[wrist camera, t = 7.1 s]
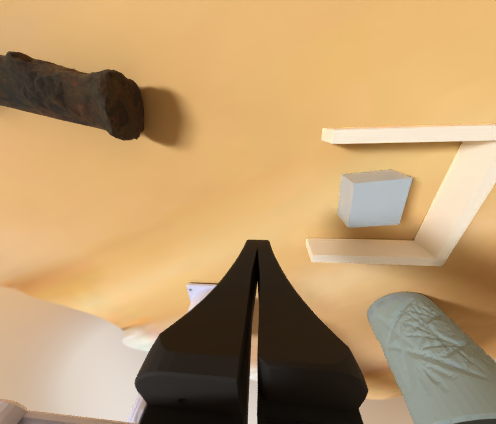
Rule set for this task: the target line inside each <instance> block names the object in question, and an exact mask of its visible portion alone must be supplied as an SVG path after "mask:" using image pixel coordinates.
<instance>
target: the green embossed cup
mask: <svg viewBox="0 0 496 424" xmlns="http://www.w3.org/2000/svg"><path fill="white" fill-rule="evenodd" d="M367 316H368V320H369V322H370V324H371V327H372V329H373V331H374V334H375V336H376V338H377V339H378V341H379V342H380V343H381V347H382V349H383V352H384V355H385V357H386V359H387V361H388V364H389V366H390V369H391V371H392V373H393V374H394V377H395V380H396V382H397V384H398V386H399V388H400V390H401V392H402V394H403V396H404V399H405V401H406V404H407V407H408V410H409V412H410V415H411V417H412V419H413V422H414V424H496V363H495V361H494V360H493V359H492V358H491V357H490V356H489V355H487V354H486V353H485V352H484V350H483V349H482V348H480V347H479V346H478V345H477V344H476V343H475V342H473V340H472V339H471V338H470V337H469V336H468V335H467V334H466V333H464V332H463V331H462V330H461V328H460V327H458V326H457V325H456V324H455V323H454V322H453V321H452V320H451V319H450V318H448V316H447V315H446V314H445V313H444V312H443V311H442V310H441V309H440V308H439V307H438V306H437V305H436V304H435V303H434V302H433V301H431V300H430V299H429V298H427V297H426V296H424V295H422V294H419V293H415V292H399V293H393V294H390V295H387V296H384V297H382V298H380V299H378V300H377V301H375V302H374V303H373V304H372V305H371V306H370V308H369V309H368V313H367Z"/></svg>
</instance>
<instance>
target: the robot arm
mask: <svg viewBox="0 0 496 424" xmlns="http://www.w3.org/2000/svg"><path fill="white" fill-rule="evenodd" d="M257 281H258V296H259V329H258V354H257V356H258V401H257V424H363V421H362V418H361V415H360V412H359V407H360V406H361V404H362V403H363V401H364V400H365V398H366V396H367V393H368V388H367V385H366V382H365V379H364V377H363V374H362V372H361V370H360V368H359V366H358V364H357V362H356V360H355V358H354V356H353V354H352V352H351V351H350V349H349V347H348V346H347V345H346V344H344V343H343V342H342V341H341V340H340V339H339V338H338V337H337V336H336V335H335V334H334V333H333V332H332V331H331V330H330V329H329V328H328V327H327V326H326V325H325V324H324V323H323V322H322V321H321V320H320V319H319V318H318V317H317V316H316V315H315V314H314V312H313V311H312V310H311V309H310V308H309V307H308V305H307V304H306V303H305V302H304V301H303V300H302V298H301V297H300V296H299V295H298V293H297V292H296V291H295V289H294V288H293V286H292V285H291V284H290V282H289V281H288V279H287V278H286V276H285V274H284V273H283V271H282V269H281V267H280V266H279V264H278V262H277V260H276V258H275V256H274V253H273V251H272V248H271V245H270V242H269V241H268V240H247V241H246V243H245V245H244V248H243V249H242V251H241V253H240V255H239V256H238V258H237V259H236V261H235V263H234V264H233V265H232V267H231V268H230V269H229V271H228V272H227V274H226V275H225V276H224V277H223V279H222V280H221V281H220V282H219V283H218V284H196V283H189V284H188V285H187V290H188V294H189V297H190V301H191V305H190V307H189V310H188V312H187V314H186V315H184V316H183V317H182V318H180V319H179V320H178V321H177V322H175V323H174V324H173V325H171V326H170V327H169V328H167V329H166V330H165V331H163V332H162V333H160V334H159V336H158V338H157V339H156V341H155V343H154V344H153V346H152V348H151V349H150V351H149V353H148V355H147V357H146V359H145V361H144V363H143V365H142V367H141V369H140V371H139V373H138V375H137V377H136V379H135V387H136V389H137V391H138V392H139V394H138V396H137V398H136V400H135V403H134V405H133V407H132V409H131V412H130V414H129V416H128V419H127V421H126V422H121V421H112V420H104V419H95V418H87V417H78V416H70V415H61V414H53V413H45V412H36V411H28V410H27V408H26V407H24V406H23V405H21V404H19V403H17V402H14V401H11V400H5V399H0V424H248V401H249V377H250V355H251V334H252V319H253V311H254V304H255V296H256V289H257Z"/></svg>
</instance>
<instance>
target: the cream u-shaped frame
mask: <svg viewBox="0 0 496 424" xmlns="http://www.w3.org/2000/svg"><path fill="white" fill-rule="evenodd" d="M321 140H323V141H325V142H328V143H331V144H354V143H400V142H446V141H462V143H461V145H460V147H459V149H458V151H457V154H456V156H455V158H454V160H453V162H452V164H451V166H450V168H449V170H448V172H447V174H446V176H445V178H444V180H443V182H442V184H441V186H440V188H439V190H438V192H437V194H436V196H435V198H434V200H433V202H432V204H431V206H430V209H429V211H428V213H427V215H426V217H425V219H424V221H423V223H422V225H421V227H420V229H419V231H418V233H417V235H416V237H415V239H414V240H375V239H330V238H307V239H306V247H307V250H308V253H309V256H310V259H311V262H328V263H358V264H388V265H418V266H443V265H444V263H445V261H446V260H447V258H448V257H449V255H450V254H451V252H452V250H453V249H454V247H455V246H456V244H457V243H458V241H459V239H460V238H461V236H462V235H463V233H464V231H465V230H466V228H467V227H468V225H469V224H470V222H471V220H472V219H473V217H474V216H475V214H476V213H477V211H478V209H479V208H480V206H481V205H482V203H483V202H484V200H485V198H486V197H487V195H488V194H489V192H490V191H491V189H492V187H493V186H494V184H495V183H496V123H474V124H440V125H406V126H372V127H338V128H323V131H322V138H321Z"/></svg>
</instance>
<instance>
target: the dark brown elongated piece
mask: <svg viewBox="0 0 496 424" xmlns="http://www.w3.org/2000/svg"><path fill="white" fill-rule="evenodd" d="M0 105H2V106H6V107H11V108H15V109H19V110H23V111H27V112H31V113H35V114H39V115H44V116H48V117H52V118H55V119H60V120H64V121H68V122H73V123H77V124H82V125H86V126H91V127H96V128H100V129H103V130H106V131H107V132H109V134H110V135H112V136H114V137H115V138H118V139H121V140H132V139H134V138H135V139H138V137H139V136H140V133H141V132H142V131H143V130H144V123H143V117H144V109H143V101H142V97H141V92H140V90H139V88H138V86H137V84H136V83H135V82H134V81H133V80H131V79H127V78H126V77H125V76H124V75H123V74H122V73H120V72H118V71H115V70H109V69H107V70H103V71H100V72H96V73H91V74H87V73H83V72H79V71H76V70H75V69H70V68H66V67H63V66H59V65H56V64H54V63H51V62H47V61H42V60H36V59H33V58H31V57H29V56H27V55H25V54H23V53H20V52H10V51H9V52H8V53H7V54H6V56H3V55H0Z"/></svg>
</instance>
